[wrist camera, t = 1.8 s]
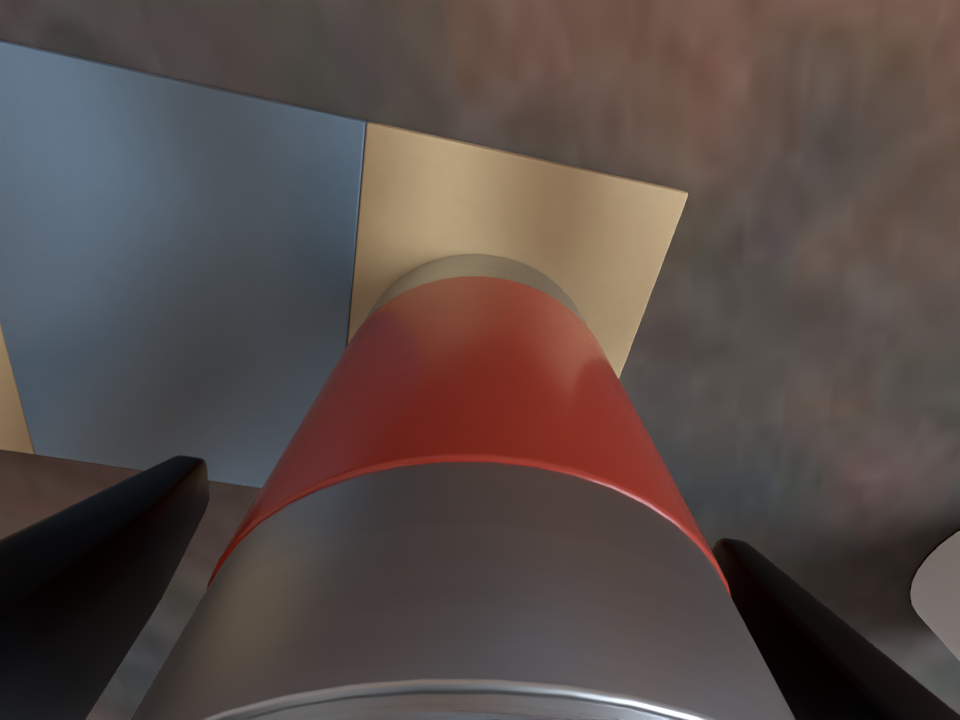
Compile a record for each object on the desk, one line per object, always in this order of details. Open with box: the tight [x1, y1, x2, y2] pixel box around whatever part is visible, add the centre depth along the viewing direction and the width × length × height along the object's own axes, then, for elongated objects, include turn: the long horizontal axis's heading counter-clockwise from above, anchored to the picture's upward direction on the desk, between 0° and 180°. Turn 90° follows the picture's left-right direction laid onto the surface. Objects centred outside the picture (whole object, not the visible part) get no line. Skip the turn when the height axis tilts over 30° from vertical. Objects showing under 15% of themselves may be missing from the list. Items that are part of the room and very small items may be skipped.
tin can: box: [131, 254, 795, 720], centre depth 9 cm, size 6×6×10 cm
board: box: [0, 40, 688, 488], centre depth 13 cm, size 24×11×1 cm, turn 79°
